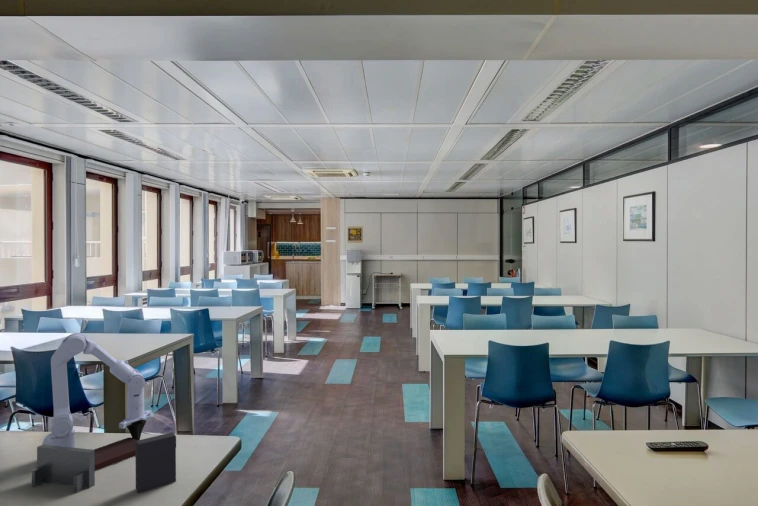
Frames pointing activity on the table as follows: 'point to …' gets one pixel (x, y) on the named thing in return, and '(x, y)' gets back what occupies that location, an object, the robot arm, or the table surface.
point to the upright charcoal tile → (155, 461)
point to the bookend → (64, 467)
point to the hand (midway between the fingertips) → (136, 440)
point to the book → (114, 452)
